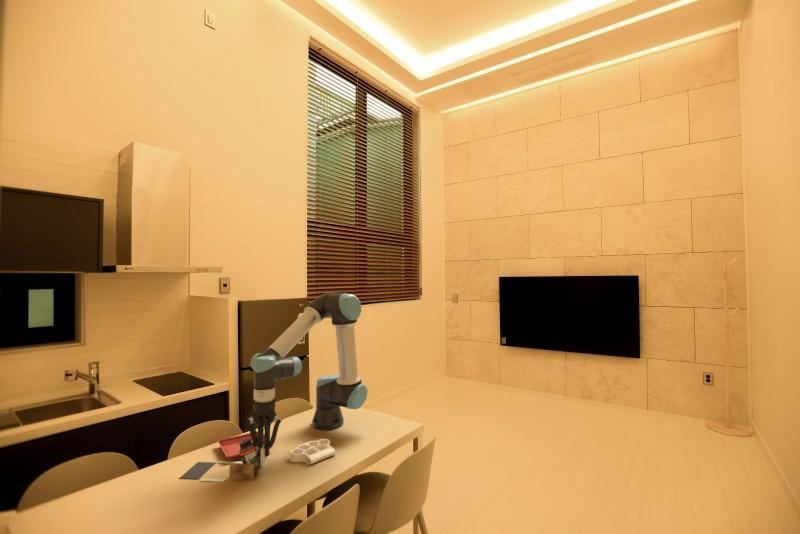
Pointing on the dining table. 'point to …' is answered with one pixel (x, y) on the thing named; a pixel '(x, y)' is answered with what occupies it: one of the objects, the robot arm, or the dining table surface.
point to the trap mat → (197, 470)
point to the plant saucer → (234, 446)
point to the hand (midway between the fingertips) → (263, 465)
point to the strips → (220, 479)
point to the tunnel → (242, 472)
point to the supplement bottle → (250, 454)
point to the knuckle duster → (312, 451)
